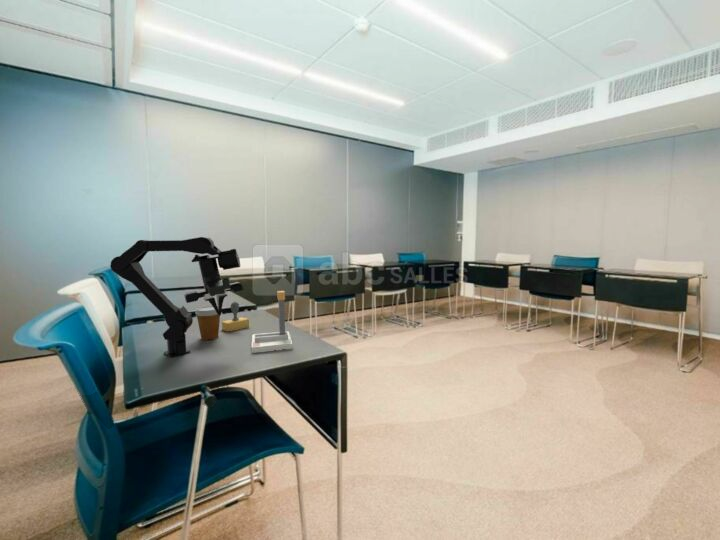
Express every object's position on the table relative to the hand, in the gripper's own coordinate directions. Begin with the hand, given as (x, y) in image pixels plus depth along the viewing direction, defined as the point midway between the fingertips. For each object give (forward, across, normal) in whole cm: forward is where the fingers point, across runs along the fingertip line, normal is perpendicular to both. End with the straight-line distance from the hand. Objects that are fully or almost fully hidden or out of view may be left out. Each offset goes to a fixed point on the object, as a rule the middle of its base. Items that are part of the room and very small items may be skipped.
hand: (219, 315), depth 118 cm
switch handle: (+14, +19, -5) cm, 24 cm away
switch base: (+15, +15, -3) cm, 22 cm away
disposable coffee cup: (+12, -3, +18) cm, 22 cm away
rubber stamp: (+13, +9, +26) cm, 31 cm away
